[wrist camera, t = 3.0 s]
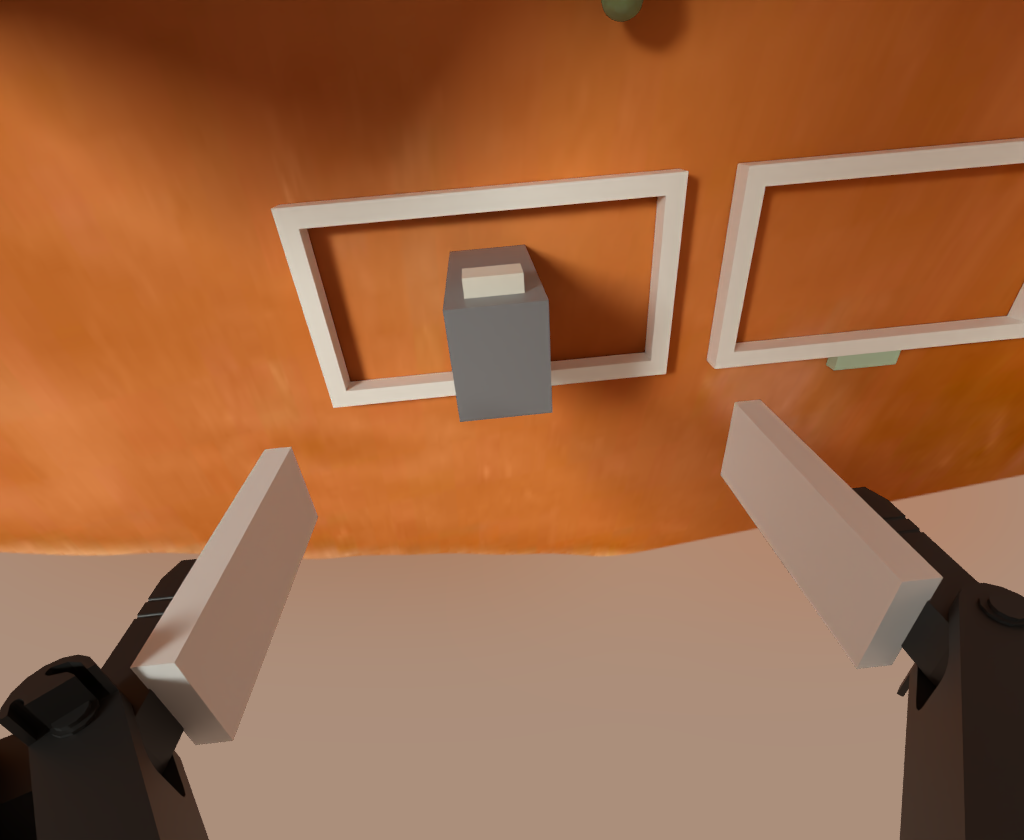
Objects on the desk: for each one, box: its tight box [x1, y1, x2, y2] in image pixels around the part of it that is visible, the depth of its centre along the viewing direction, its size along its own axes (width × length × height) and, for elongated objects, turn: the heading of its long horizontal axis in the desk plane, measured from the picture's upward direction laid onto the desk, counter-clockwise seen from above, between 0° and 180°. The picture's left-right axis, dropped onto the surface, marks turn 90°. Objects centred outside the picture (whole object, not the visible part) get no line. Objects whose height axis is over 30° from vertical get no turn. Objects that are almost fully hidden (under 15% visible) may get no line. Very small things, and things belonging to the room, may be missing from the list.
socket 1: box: [271, 169, 689, 408], centre depth 27 cm, size 20×12×1 cm, turn 94°
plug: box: [443, 245, 552, 422], centre depth 23 cm, size 4×6×9 cm
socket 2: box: [707, 138, 1024, 370], centre depth 28 cm, size 20×12×1 cm, turn 94°
